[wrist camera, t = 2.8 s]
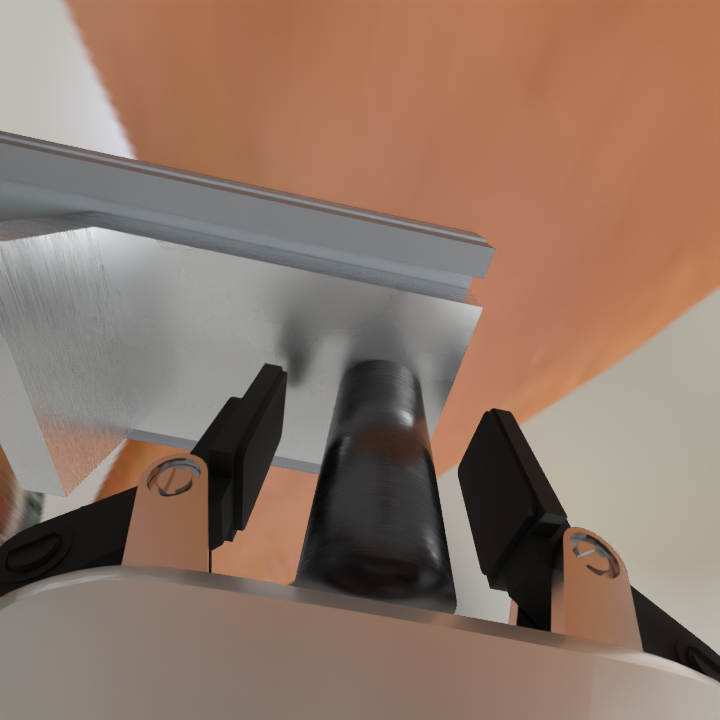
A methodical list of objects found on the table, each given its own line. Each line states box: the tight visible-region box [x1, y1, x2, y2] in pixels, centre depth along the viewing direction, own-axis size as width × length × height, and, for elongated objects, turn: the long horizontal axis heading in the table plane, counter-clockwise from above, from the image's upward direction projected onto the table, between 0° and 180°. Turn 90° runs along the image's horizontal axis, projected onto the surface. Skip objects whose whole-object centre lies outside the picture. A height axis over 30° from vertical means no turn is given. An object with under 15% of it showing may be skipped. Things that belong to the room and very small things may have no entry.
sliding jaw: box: [0, 211, 483, 614], centre depth 10 cm, size 8×14×9 cm, turn 79°
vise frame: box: [0, 131, 495, 474], centre depth 12 cm, size 12×28×8 cm, turn 79°
